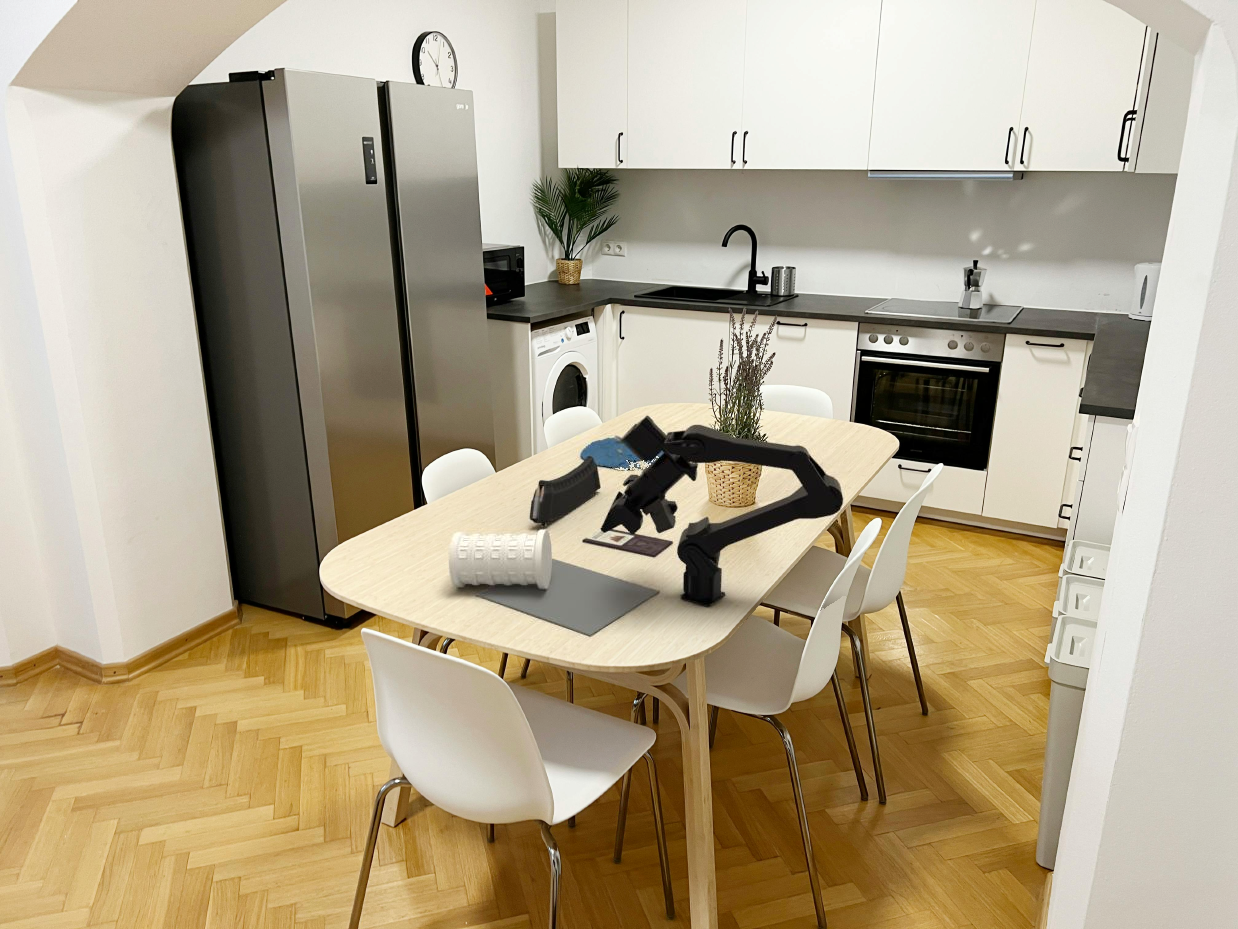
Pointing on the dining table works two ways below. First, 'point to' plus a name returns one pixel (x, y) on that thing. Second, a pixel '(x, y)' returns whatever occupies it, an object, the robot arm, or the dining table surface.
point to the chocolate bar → (628, 542)
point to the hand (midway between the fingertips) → (602, 530)
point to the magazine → (564, 492)
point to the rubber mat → (573, 598)
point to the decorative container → (501, 559)
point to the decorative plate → (612, 453)
